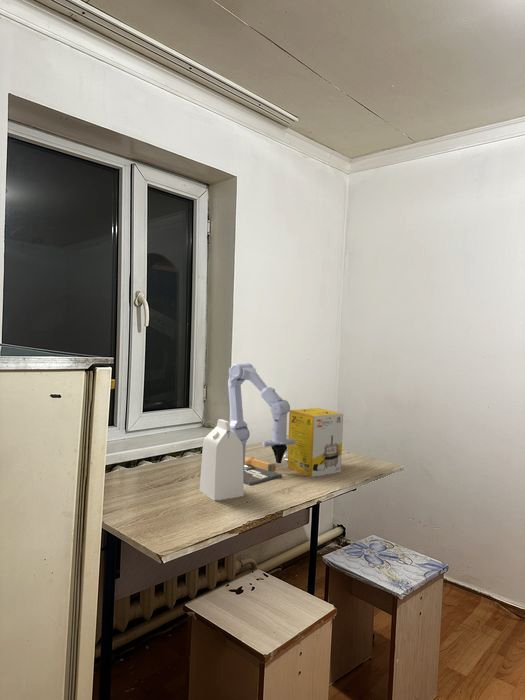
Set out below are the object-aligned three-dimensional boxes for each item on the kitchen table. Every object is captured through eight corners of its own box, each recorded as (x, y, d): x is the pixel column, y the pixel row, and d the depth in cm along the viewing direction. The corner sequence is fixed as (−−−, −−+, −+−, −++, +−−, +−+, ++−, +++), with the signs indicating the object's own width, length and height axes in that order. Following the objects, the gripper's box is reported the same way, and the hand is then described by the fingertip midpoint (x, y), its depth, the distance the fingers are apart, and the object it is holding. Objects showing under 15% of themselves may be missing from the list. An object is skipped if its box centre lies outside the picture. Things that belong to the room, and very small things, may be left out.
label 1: (246, 472, 192) (246, 471, 192) (252, 470, 194) (252, 469, 194) (254, 474, 188) (254, 473, 188) (261, 473, 191) (261, 472, 191)
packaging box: (315, 462, 214) (317, 407, 213) (340, 472, 200) (343, 413, 199) (287, 467, 204) (289, 410, 204) (311, 477, 191) (313, 416, 190)
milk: (243, 495, 166) (246, 422, 165) (214, 501, 160) (216, 424, 159) (227, 486, 176) (229, 416, 176) (199, 490, 170) (201, 418, 169)
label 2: (252, 475, 187) (252, 475, 187) (258, 474, 189) (258, 473, 189) (261, 478, 183) (261, 478, 183) (267, 477, 186) (267, 476, 186)
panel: (215, 473, 192) (215, 468, 192) (247, 465, 205) (248, 461, 205) (249, 485, 178) (249, 480, 178) (281, 476, 191) (282, 471, 191)
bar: (242, 463, 199) (242, 457, 198) (249, 462, 201) (249, 456, 201) (270, 472, 187) (270, 466, 187) (277, 470, 190) (277, 464, 190)
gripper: (268, 432, 188) (267, 466, 188) (299, 430, 194) (298, 463, 194) (260, 429, 194) (259, 462, 195) (291, 427, 200) (290, 459, 201)
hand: (278, 462), depth 195 cm, fingers closed
